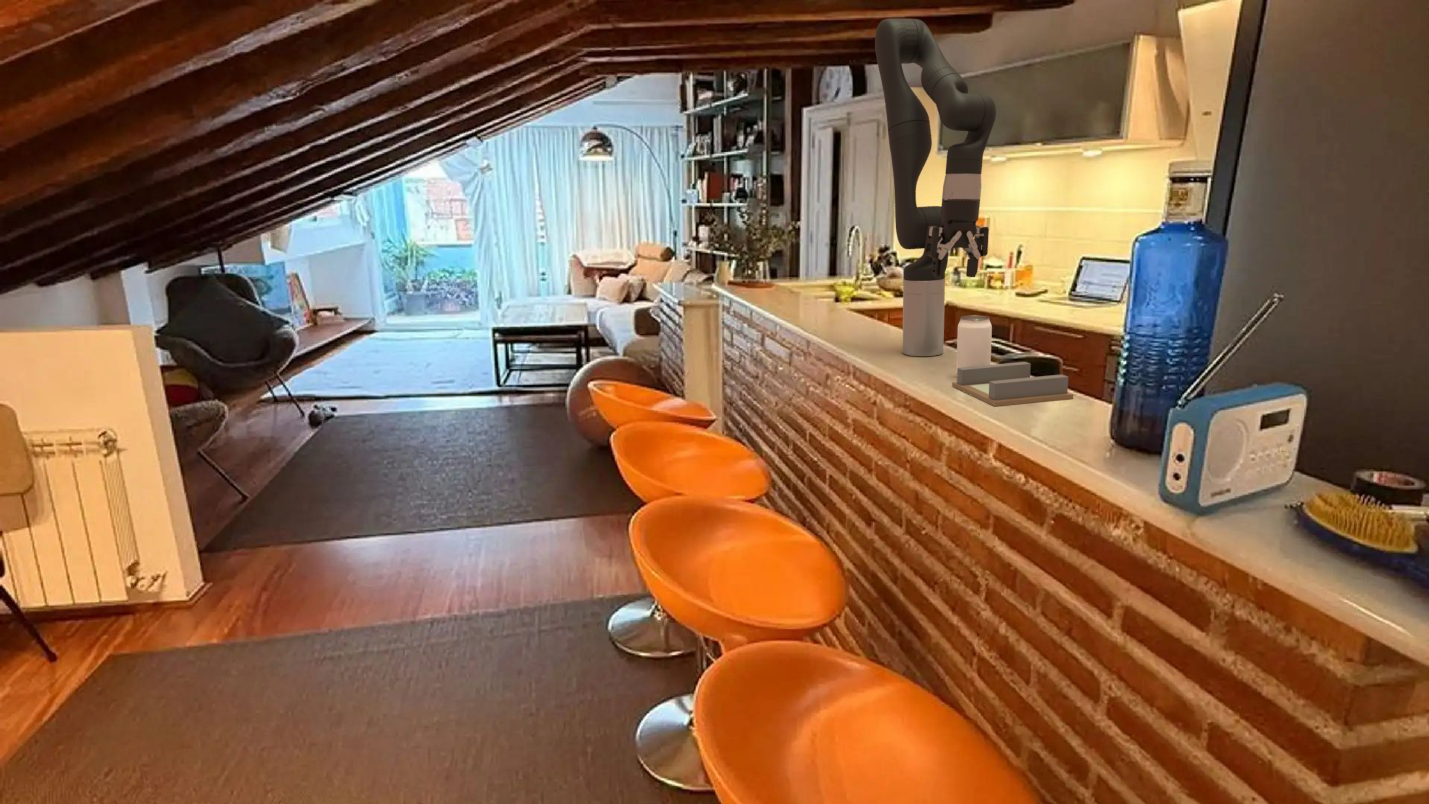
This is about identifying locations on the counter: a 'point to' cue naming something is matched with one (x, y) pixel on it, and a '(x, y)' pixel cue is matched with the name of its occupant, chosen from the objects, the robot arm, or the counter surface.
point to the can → (974, 341)
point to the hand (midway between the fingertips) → (954, 277)
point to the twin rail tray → (1010, 384)
